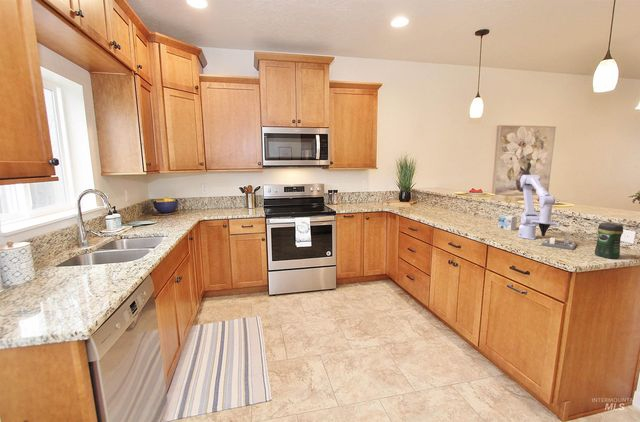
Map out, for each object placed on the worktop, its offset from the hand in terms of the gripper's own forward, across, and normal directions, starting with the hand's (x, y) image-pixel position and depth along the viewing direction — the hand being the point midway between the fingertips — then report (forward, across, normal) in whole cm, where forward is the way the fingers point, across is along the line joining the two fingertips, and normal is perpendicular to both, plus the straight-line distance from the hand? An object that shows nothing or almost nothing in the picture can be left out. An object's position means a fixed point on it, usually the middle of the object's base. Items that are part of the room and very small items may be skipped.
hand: (543, 235), depth 187 cm
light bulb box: (+5, -29, +36) cm, 47 cm away
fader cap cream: (+4, +5, 0) cm, 6 cm away
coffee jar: (+6, +30, -8) cm, 31 cm away
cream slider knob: (+4, +11, +8) cm, 14 cm away
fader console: (+5, +8, +4) cm, 10 cm away
